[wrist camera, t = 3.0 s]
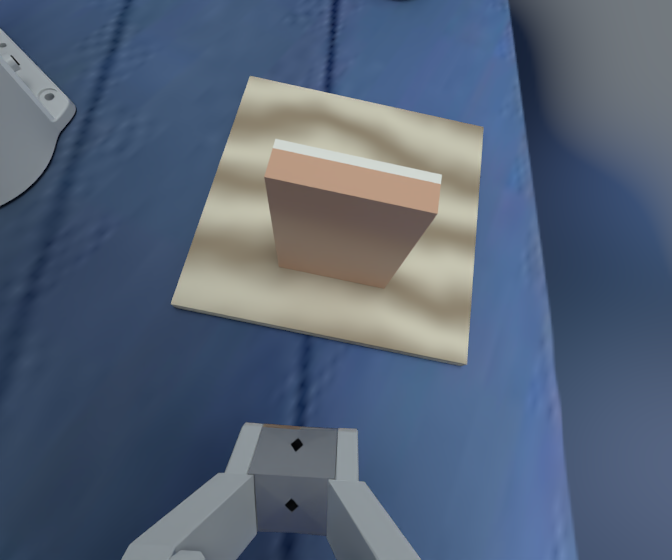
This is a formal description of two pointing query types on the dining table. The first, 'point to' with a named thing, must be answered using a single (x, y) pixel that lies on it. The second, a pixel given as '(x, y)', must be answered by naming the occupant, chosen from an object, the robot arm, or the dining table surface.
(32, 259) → the dining table surface
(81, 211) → the dining table surface
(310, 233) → the tile
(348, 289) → the board
